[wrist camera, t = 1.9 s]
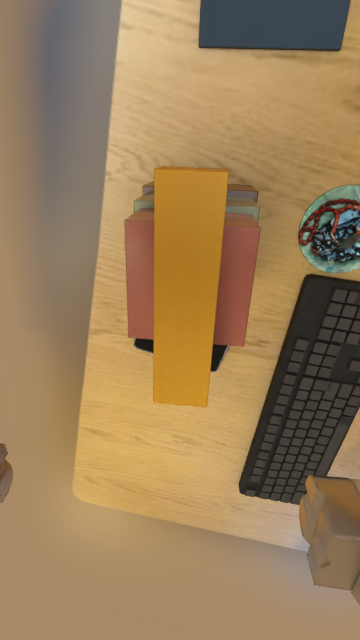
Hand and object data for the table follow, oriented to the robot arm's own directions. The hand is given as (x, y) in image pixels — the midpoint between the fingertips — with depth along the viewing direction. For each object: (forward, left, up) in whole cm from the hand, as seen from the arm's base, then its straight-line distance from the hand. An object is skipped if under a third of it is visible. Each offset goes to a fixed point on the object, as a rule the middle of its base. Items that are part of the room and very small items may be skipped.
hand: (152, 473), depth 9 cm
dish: (+15, +1, -31) cm, 35 cm away
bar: (0, 0, -14) cm, 14 cm away
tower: (0, 0, -31) cm, 31 cm away
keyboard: (+16, -22, -31) cm, 41 cm away
